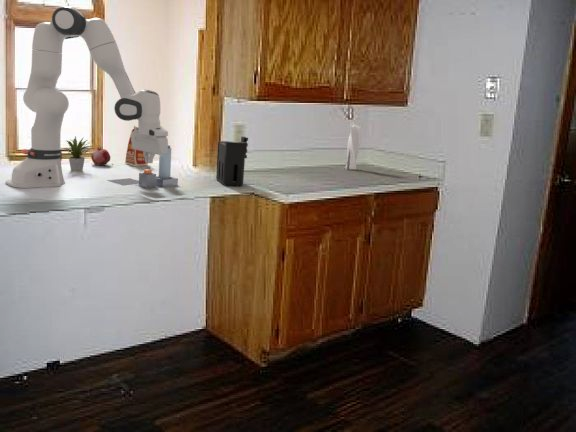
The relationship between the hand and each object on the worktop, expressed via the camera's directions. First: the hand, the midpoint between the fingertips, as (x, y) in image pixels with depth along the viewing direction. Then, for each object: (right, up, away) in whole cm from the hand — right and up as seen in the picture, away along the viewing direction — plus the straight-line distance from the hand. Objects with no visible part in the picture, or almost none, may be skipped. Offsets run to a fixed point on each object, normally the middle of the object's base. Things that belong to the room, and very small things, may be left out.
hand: (148, 162), depth 249 cm
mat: (-12, -9, +8) cm, 17 cm away
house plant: (-40, -2, +27) cm, 49 cm away
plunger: (-1, -5, +1) cm, 5 cm away
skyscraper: (+96, +6, +108) cm, 145 cm away
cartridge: (+5, -9, +9) cm, 13 cm away
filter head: (+2, -10, +6) cm, 12 cm away
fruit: (-36, +3, +49) cm, 61 cm away
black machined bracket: (+32, -7, +32) cm, 45 cm away
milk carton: (-21, +5, +61) cm, 65 cm away
